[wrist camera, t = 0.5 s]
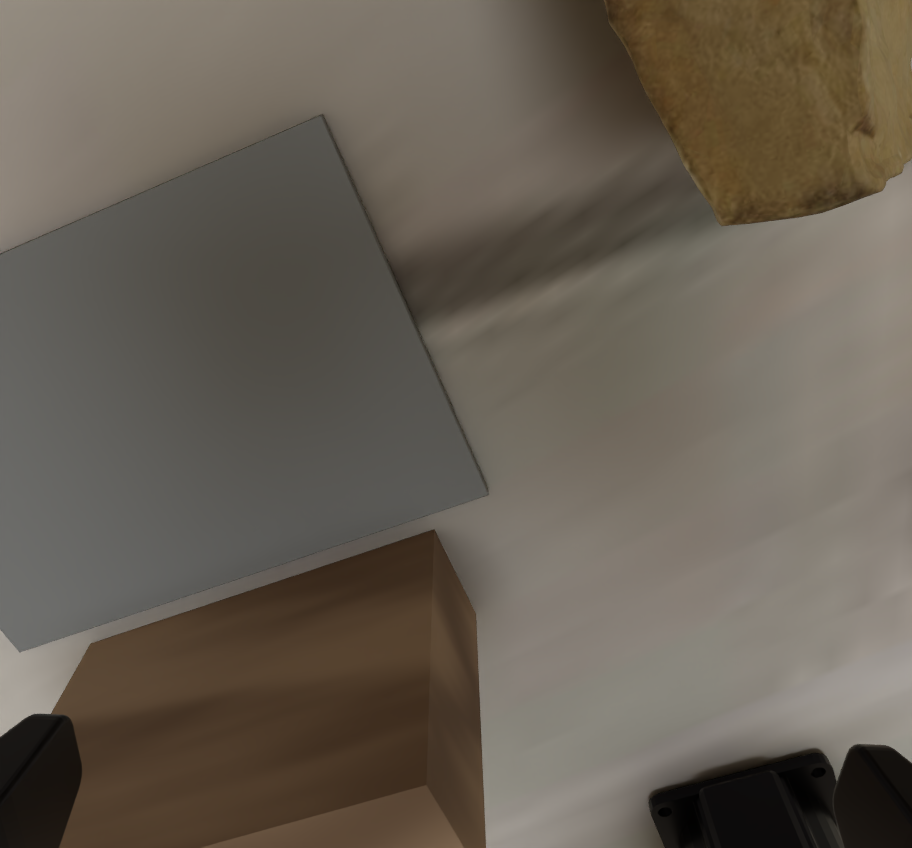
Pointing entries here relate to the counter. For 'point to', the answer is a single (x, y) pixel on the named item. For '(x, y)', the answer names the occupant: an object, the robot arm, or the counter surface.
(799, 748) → the counter surface
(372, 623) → the slab
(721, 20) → the rock
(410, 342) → the mat
